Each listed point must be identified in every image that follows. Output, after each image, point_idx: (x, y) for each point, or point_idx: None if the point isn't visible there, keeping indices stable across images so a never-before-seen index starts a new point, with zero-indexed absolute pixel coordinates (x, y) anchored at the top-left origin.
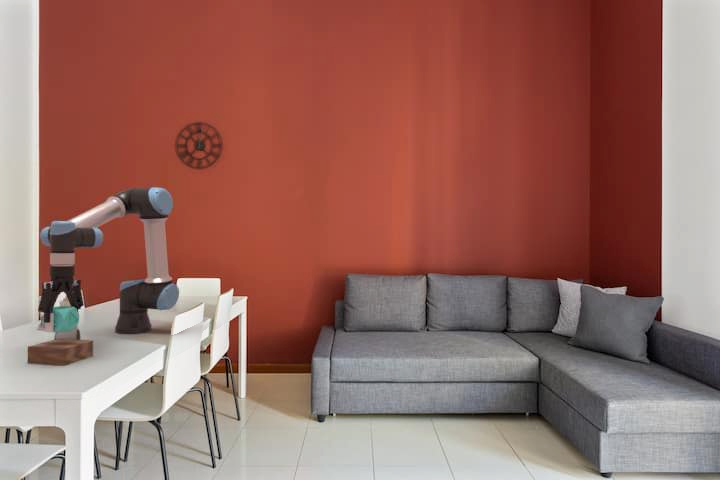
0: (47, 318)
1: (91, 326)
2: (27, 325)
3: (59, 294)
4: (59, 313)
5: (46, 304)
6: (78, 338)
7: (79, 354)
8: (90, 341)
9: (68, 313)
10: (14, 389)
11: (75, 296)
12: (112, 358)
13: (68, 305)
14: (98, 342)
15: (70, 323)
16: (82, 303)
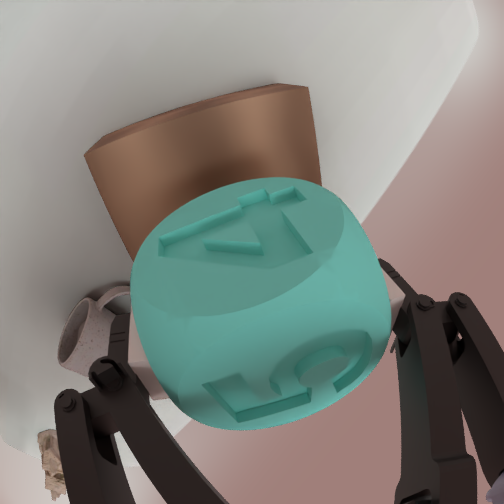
0: (398, 276)
1: (14, 427)
2: None
3: (440, 462)
4: (378, 269)
5: (481, 338)
6: (65, 342)
7: (187, 108)
8: (103, 145)
9: (311, 246)
10: (467, 34)
11: (128, 501)
12: (87, 31)
13: (50, 481)
14: (12, 319)
15: (231, 221)
16: (64, 416)
